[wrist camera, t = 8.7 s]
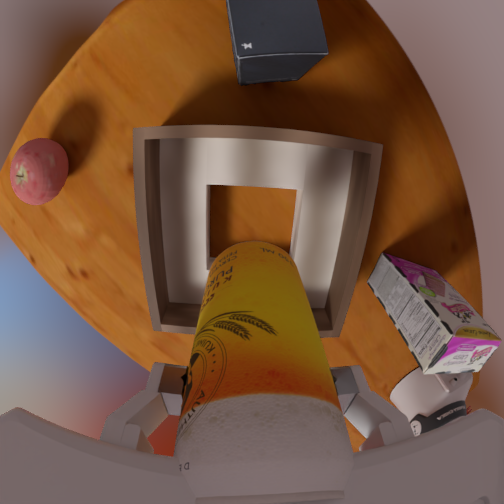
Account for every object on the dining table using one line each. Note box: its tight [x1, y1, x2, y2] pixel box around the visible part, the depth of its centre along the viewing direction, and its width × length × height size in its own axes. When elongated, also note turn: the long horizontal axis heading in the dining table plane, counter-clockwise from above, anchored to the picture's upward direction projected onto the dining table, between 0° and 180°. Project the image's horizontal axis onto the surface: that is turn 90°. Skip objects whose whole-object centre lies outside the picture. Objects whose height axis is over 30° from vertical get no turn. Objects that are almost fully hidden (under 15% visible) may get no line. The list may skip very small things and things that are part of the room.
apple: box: [10, 138, 69, 205], centre depth 22 cm, size 7×7×8 cm
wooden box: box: [133, 125, 383, 338], centre depth 26 cm, size 20×20×7 cm
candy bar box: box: [367, 253, 501, 374], centre depth 25 cm, size 11×5×16 cm, turn 74°
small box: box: [226, 0, 328, 86], centre depth 16 cm, size 11×6×10 cm, turn 8°
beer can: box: [174, 241, 354, 504], centre depth 12 cm, size 6×6×15 cm
